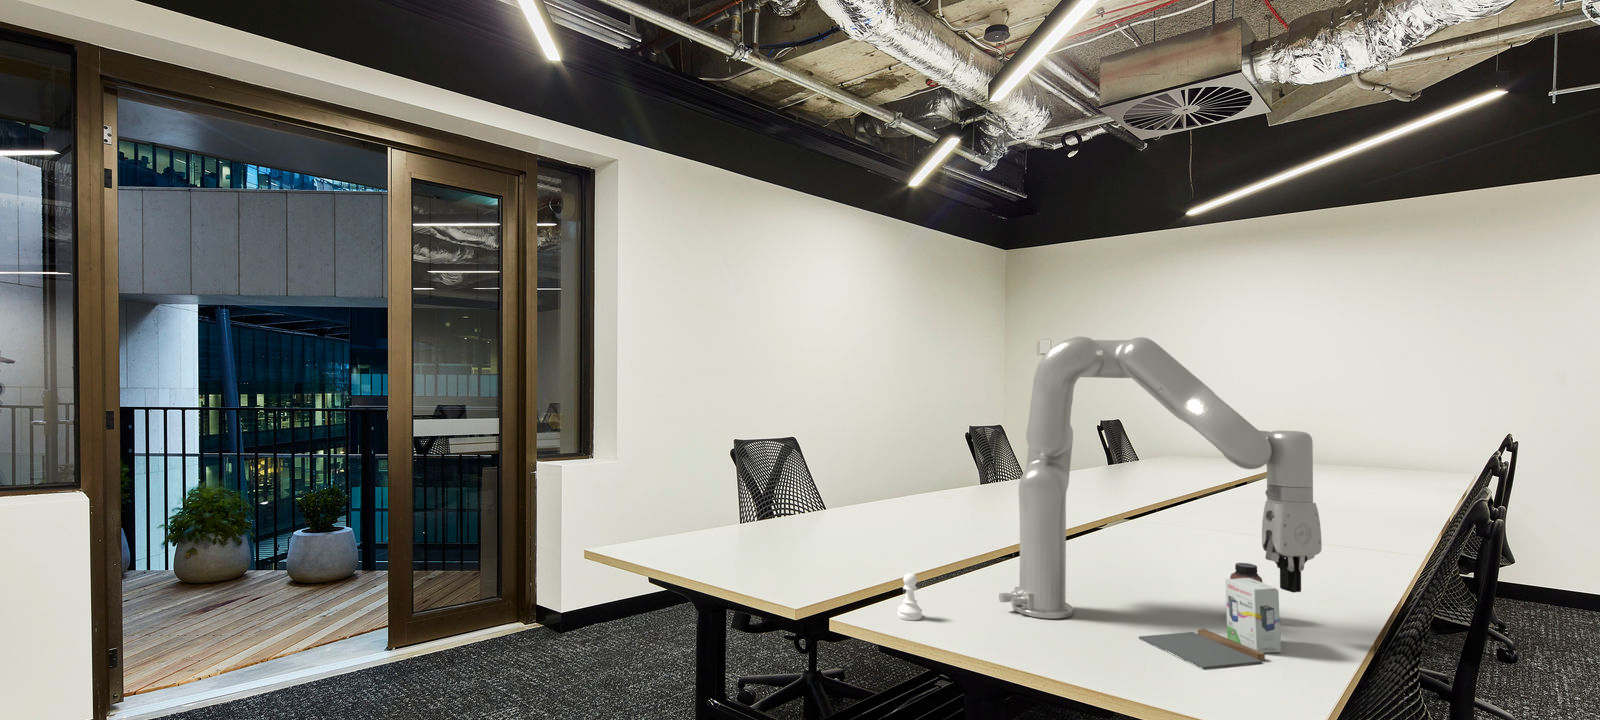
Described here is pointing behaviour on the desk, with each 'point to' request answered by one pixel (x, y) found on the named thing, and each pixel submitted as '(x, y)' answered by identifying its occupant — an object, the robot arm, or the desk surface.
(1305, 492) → the robot arm
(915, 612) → the chess pawn
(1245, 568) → the supplement bottle
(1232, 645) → the stop strip
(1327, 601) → the desk surface
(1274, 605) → the ink box
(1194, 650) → the mat
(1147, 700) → the desk surface
